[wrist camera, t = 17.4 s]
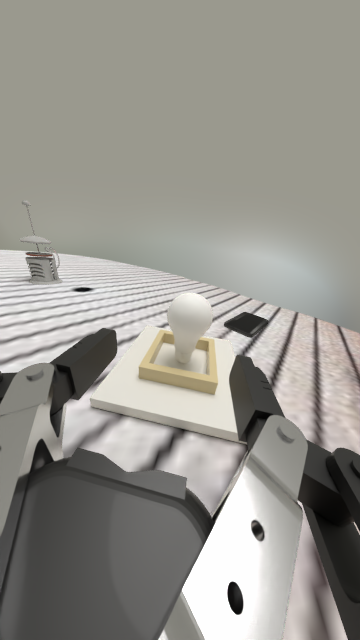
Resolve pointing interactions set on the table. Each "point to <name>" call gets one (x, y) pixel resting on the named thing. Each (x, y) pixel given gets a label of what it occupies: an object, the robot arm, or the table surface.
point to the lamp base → (173, 385)
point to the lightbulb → (188, 323)
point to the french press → (40, 260)
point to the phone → (246, 324)
